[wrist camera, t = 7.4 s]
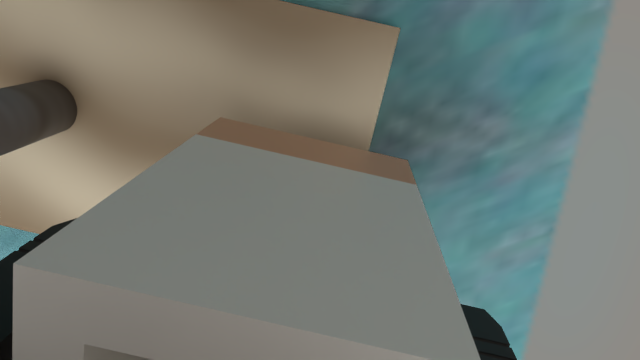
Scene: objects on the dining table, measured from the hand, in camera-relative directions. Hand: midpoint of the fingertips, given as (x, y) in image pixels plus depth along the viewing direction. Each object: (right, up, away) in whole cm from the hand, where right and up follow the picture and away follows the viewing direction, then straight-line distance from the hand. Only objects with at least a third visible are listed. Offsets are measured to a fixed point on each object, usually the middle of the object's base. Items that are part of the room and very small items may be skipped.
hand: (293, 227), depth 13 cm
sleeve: (0, 0, 0) cm, 0 cm away
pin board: (-4, +3, +7) cm, 9 cm away
